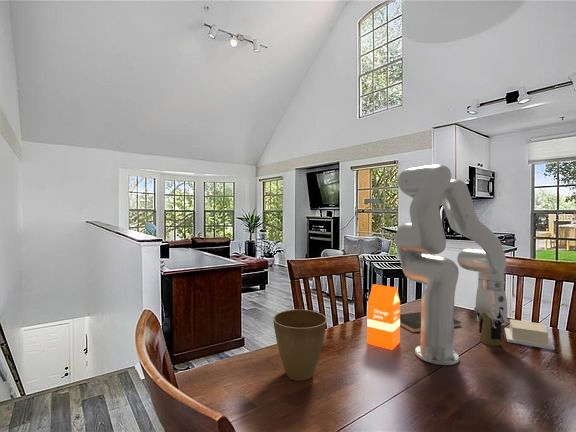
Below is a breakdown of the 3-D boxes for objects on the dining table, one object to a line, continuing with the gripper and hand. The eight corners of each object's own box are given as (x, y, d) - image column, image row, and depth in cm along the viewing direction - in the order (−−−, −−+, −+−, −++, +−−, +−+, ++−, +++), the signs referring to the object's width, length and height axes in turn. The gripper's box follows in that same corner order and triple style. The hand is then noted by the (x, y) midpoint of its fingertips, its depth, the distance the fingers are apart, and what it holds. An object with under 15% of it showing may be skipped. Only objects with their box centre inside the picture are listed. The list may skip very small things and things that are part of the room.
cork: (494, 339, 118) (494, 308, 117) (503, 346, 112) (504, 314, 111) (476, 338, 118) (476, 308, 118) (484, 345, 112) (485, 313, 112)
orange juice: (392, 350, 108) (392, 289, 107) (366, 343, 113) (367, 285, 113) (400, 342, 114) (400, 285, 114) (375, 336, 119) (376, 281, 119)
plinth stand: (554, 349, 109) (554, 335, 109) (507, 341, 115) (507, 327, 115) (546, 336, 120) (547, 323, 120) (504, 330, 127) (504, 317, 126)
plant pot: (266, 366, 96) (266, 312, 95) (312, 359, 101) (312, 307, 101) (283, 393, 82) (283, 330, 81) (336, 383, 87) (336, 323, 87)
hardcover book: (461, 327, 131) (461, 322, 131) (413, 334, 124) (413, 328, 124) (432, 315, 146) (432, 310, 146) (388, 320, 139) (388, 314, 139)
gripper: (520, 289, 107) (519, 345, 107) (483, 278, 124) (482, 326, 124) (499, 290, 106) (498, 346, 106) (464, 279, 123) (463, 327, 123)
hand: (489, 335), depth 115 cm, fingers open, 4 cm apart
